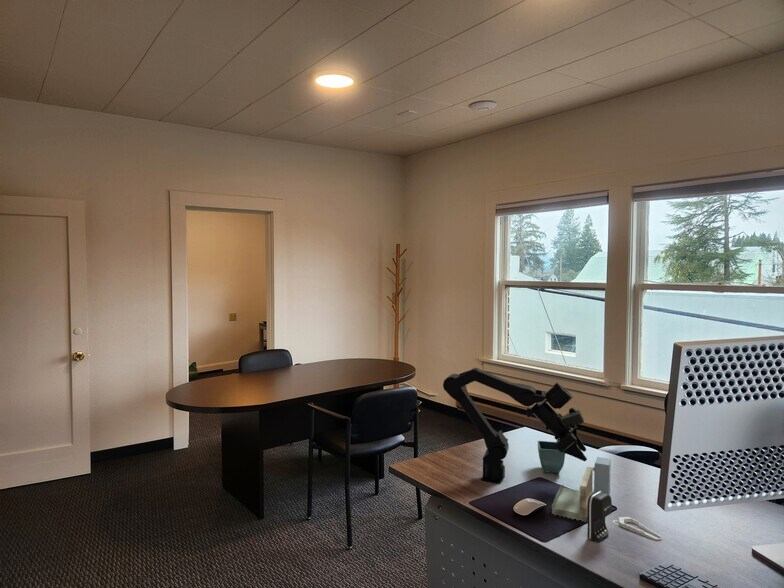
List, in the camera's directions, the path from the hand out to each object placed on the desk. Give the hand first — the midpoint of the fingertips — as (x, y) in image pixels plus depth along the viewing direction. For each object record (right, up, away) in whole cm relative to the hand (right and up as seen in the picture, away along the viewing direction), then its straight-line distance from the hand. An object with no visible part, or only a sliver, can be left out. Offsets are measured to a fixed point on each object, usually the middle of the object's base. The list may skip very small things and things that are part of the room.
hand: (585, 455), depth 160 cm
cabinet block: (+5, -12, -1) cm, 13 cm away
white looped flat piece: (+5, -13, -23) cm, 27 cm away
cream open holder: (-8, -12, -10) cm, 18 cm away
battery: (-7, -13, -28) cm, 31 cm away
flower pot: (-5, -11, +18) cm, 22 cm away
